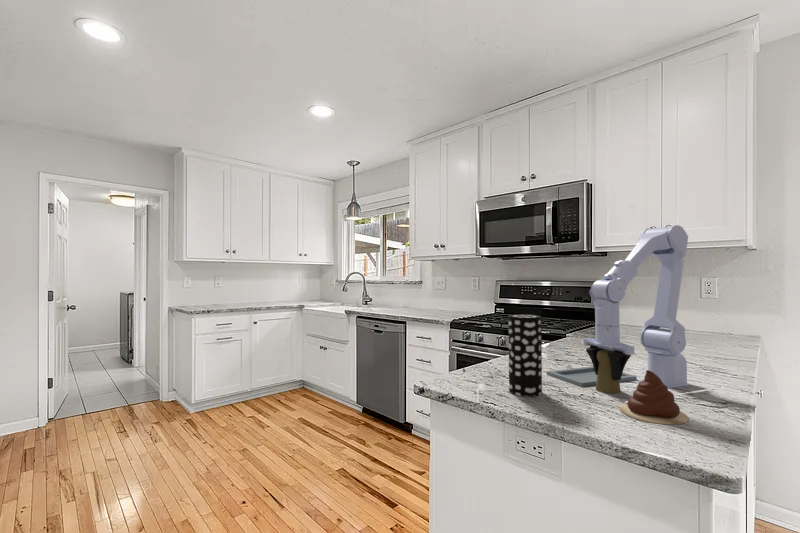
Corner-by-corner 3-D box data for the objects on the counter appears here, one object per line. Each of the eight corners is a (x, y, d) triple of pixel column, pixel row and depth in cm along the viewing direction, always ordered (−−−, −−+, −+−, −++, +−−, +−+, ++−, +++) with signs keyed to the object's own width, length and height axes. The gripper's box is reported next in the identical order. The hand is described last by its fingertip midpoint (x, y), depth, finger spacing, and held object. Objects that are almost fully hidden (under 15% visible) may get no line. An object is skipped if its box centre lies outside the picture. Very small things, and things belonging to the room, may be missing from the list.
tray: (597, 370, 132) (597, 365, 132) (636, 381, 119) (636, 376, 119) (546, 376, 125) (546, 371, 125) (581, 388, 112) (581, 383, 112)
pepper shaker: (624, 396, 105) (623, 352, 105) (598, 394, 106) (598, 352, 106) (616, 389, 111) (616, 348, 111) (592, 388, 112) (592, 347, 112)
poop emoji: (630, 416, 90) (630, 373, 90) (624, 404, 98) (623, 364, 98) (685, 421, 86) (684, 377, 86) (673, 408, 94) (673, 367, 94)
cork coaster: (647, 401, 100) (647, 400, 100) (702, 419, 88) (702, 418, 88) (606, 408, 96) (606, 406, 96) (658, 428, 84) (658, 426, 84)
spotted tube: (547, 391, 109) (546, 315, 110) (533, 398, 103) (532, 318, 103) (518, 385, 115) (517, 313, 115) (503, 392, 109) (502, 316, 109)
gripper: (574, 322, 114) (575, 372, 114) (618, 329, 100) (619, 385, 100) (594, 321, 116) (595, 369, 116) (640, 328, 103) (641, 383, 103)
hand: (607, 377), depth 108 cm, fingers closed on pepper shaker, 5 cm apart
